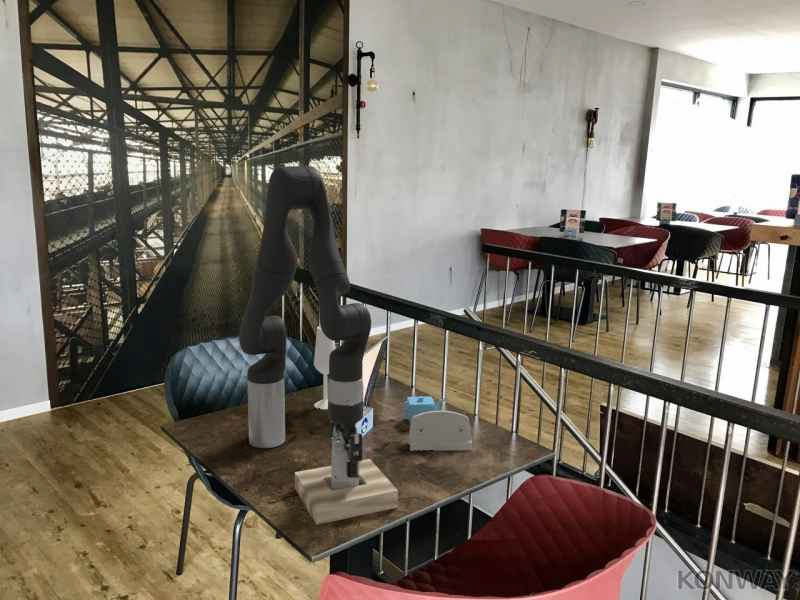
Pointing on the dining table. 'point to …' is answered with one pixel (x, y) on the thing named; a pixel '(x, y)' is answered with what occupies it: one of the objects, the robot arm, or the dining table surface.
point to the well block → (345, 493)
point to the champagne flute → (323, 362)
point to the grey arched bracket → (440, 431)
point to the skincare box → (341, 469)
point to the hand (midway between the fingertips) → (345, 467)
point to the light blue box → (420, 406)
